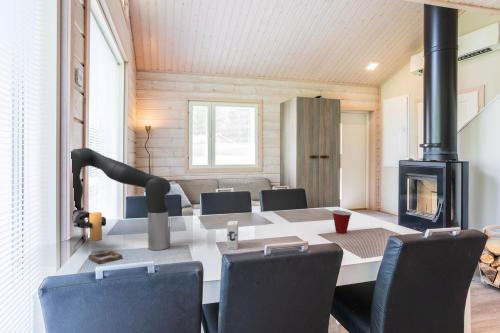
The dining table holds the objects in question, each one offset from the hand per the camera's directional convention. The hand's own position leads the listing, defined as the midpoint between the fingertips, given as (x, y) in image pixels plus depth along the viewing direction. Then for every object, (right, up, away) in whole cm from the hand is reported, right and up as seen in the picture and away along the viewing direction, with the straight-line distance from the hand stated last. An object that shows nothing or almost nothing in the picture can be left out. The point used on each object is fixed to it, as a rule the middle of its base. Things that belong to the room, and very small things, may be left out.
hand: (98, 224), depth 143 cm
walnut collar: (+6, -13, -6) cm, 16 cm away
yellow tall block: (-2, -7, +2) cm, 8 cm away
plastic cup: (+120, -12, +39) cm, 126 cm away
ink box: (+59, -13, +11) cm, 62 cm away
